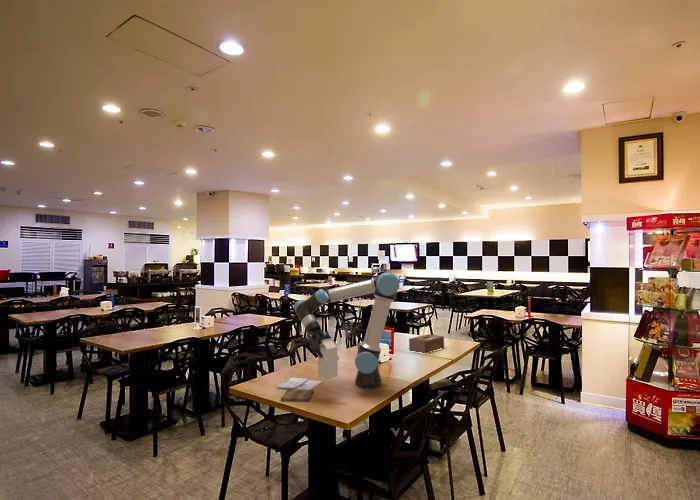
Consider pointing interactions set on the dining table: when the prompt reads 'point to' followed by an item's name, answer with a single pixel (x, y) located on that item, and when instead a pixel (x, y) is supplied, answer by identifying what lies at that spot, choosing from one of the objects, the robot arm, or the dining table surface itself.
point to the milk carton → (331, 366)
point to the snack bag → (296, 382)
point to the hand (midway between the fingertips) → (332, 360)
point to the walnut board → (297, 395)
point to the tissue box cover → (426, 343)
